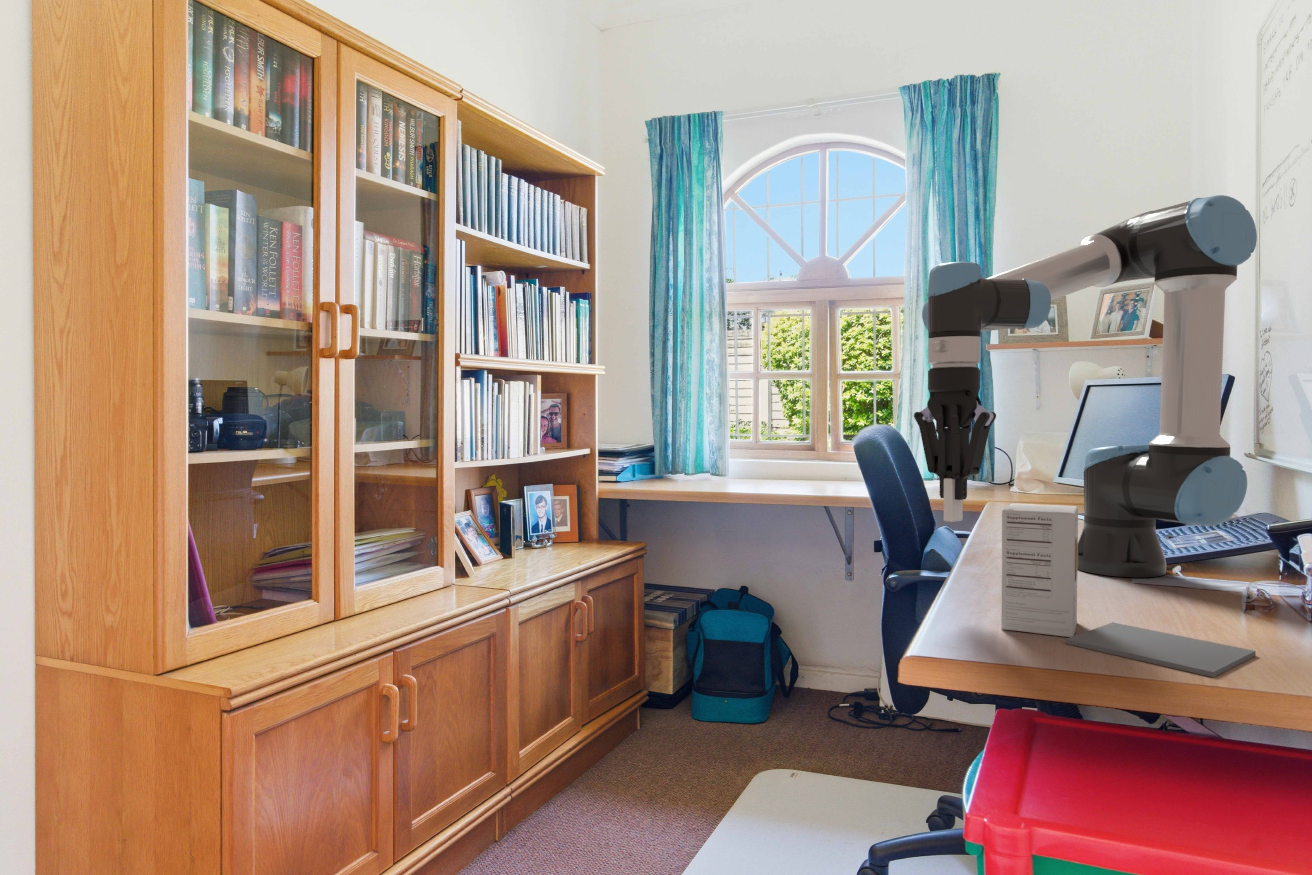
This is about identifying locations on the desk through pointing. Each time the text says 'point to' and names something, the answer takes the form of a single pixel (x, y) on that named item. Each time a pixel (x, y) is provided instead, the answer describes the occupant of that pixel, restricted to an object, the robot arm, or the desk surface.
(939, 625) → the desk surface
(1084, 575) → the desk surface
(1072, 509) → the supplement box
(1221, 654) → the mat
